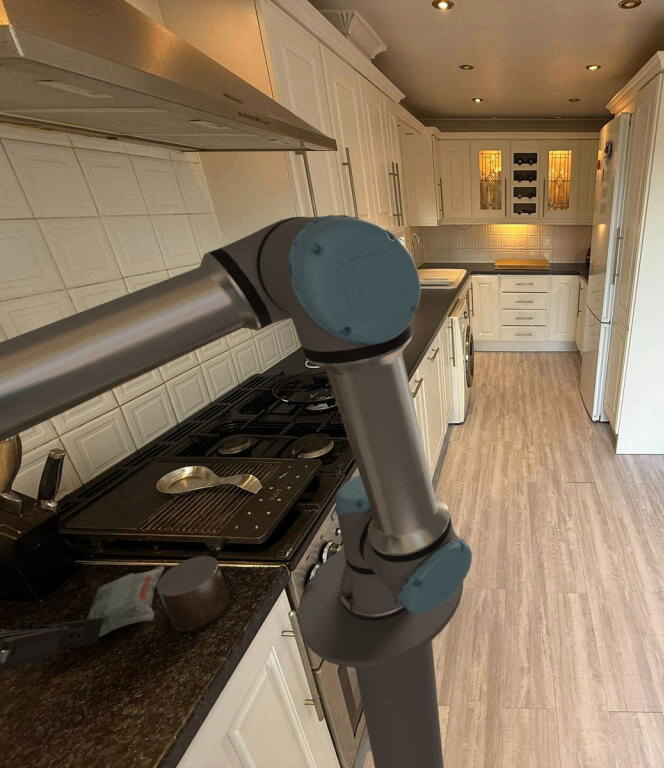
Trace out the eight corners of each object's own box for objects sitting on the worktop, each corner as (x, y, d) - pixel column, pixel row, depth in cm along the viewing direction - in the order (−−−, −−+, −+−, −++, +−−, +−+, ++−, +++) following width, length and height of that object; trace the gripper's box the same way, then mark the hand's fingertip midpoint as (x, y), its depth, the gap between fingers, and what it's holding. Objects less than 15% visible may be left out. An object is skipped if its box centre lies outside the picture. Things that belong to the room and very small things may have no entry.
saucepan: (255, 560, 80) (246, 527, 77) (213, 629, 66) (200, 592, 63) (211, 563, 79) (200, 530, 76) (160, 634, 65) (144, 597, 62)
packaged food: (168, 576, 76) (159, 556, 74) (157, 627, 66) (146, 605, 65) (106, 597, 72) (95, 576, 70) (84, 654, 62) (71, 632, 61)
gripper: (-356, 759, 27) (24, 669, 48) (-141, 747, 27) (139, 664, 49) (-273, 628, 30) (50, 598, 51) (-81, 619, 30) (158, 594, 52)
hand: (93, 630), depth 50 cm, fingers closed
